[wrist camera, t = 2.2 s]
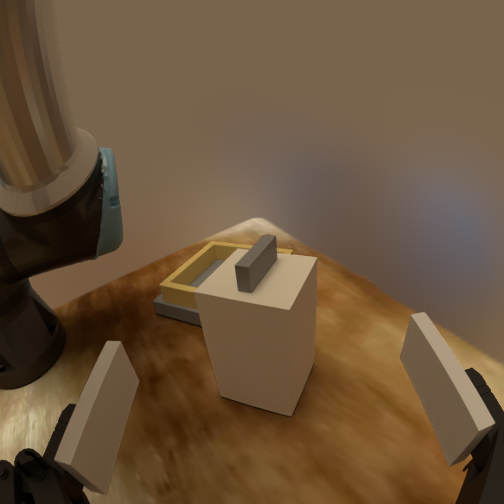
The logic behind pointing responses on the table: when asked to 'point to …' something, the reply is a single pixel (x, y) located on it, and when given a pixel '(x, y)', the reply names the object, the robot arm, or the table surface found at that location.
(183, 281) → the tray
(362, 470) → the table surface
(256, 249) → the beige rectangular block
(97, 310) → the table surface
